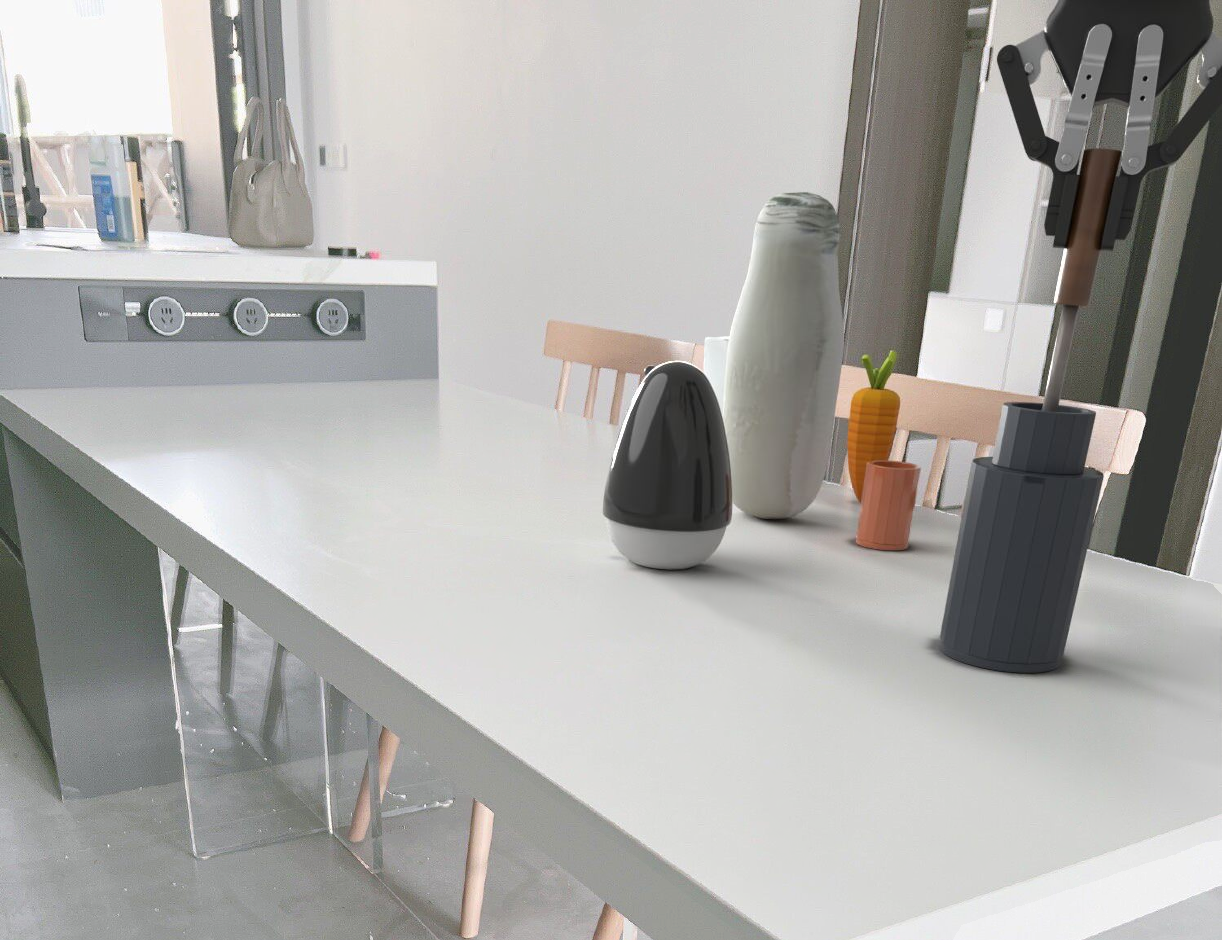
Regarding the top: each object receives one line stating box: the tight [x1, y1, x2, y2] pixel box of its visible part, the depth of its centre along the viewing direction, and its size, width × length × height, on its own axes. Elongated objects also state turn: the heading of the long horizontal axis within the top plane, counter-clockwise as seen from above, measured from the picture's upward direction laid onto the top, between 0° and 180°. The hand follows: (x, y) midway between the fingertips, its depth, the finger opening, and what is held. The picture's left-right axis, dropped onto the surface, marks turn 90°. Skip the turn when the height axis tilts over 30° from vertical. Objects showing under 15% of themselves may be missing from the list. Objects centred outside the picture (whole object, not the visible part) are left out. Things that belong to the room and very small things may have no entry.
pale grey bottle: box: [723, 191, 845, 520], centre depth 112 cm, size 10×10×28 cm
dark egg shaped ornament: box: [602, 360, 733, 570], centre depth 95 cm, size 10×10×15 cm
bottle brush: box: [1042, 147, 1123, 412], centre depth 73 cm, size 3×3×24 cm
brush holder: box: [855, 459, 922, 551], centre depth 108 cm, size 5×5×7 cm
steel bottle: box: [938, 401, 1105, 674], centre depth 77 cm, size 8×8×16 cm
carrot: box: [847, 350, 901, 504], centre depth 125 cm, size 5×5×15 cm
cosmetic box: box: [702, 335, 730, 417], centre depth 135 cm, size 8×6×15 cm
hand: (1082, 247), depth 70 cm, fingers closed on bottle brush, 2 cm apart
